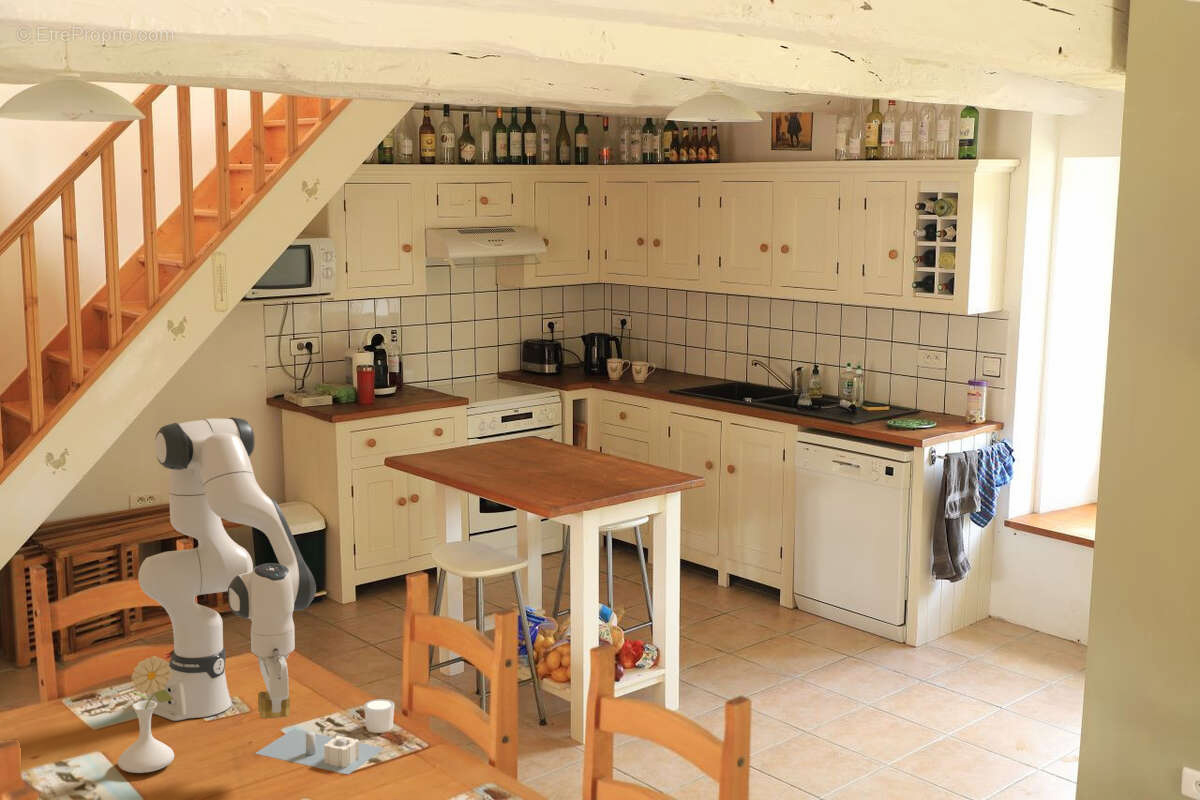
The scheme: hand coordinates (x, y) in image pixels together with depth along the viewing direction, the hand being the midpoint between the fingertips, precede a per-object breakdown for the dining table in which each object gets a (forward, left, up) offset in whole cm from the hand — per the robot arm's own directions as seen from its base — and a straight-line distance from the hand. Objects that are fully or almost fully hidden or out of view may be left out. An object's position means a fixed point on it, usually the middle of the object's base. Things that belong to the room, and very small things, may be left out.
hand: (274, 704), depth 252 cm
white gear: (+12, +8, -13) cm, 19 cm away
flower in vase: (-25, -9, -15) cm, 31 cm away
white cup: (+10, +26, -15) cm, 31 cm away
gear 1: (0, 0, -2) cm, 2 cm away
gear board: (+5, +10, -15) cm, 18 cm away
